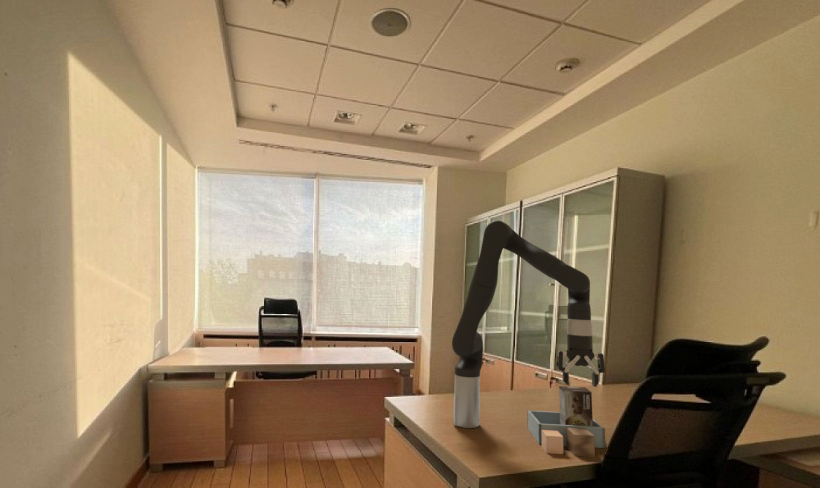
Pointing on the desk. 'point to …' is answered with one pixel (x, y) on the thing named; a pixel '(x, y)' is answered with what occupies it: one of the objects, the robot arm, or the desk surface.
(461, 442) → the desk surface
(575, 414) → the coffee box
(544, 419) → the tote
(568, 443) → the block
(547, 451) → the cube
